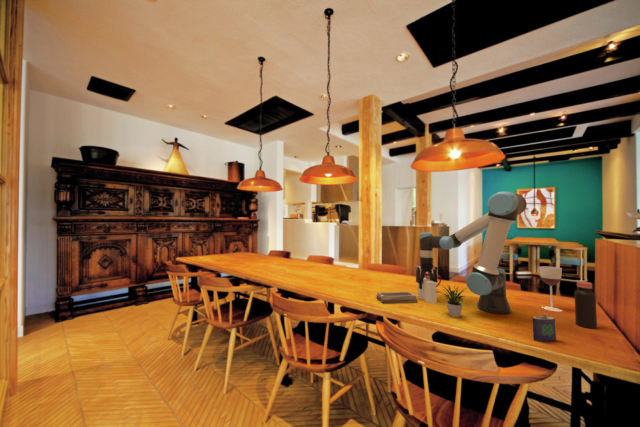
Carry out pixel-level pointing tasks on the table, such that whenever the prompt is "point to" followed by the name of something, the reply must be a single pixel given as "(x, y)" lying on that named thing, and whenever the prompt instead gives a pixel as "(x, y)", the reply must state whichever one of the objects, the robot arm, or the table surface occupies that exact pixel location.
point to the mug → (429, 277)
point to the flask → (544, 328)
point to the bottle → (585, 306)
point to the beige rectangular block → (428, 291)
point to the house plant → (454, 302)
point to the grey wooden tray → (396, 297)
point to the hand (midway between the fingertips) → (426, 294)
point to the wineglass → (551, 281)
